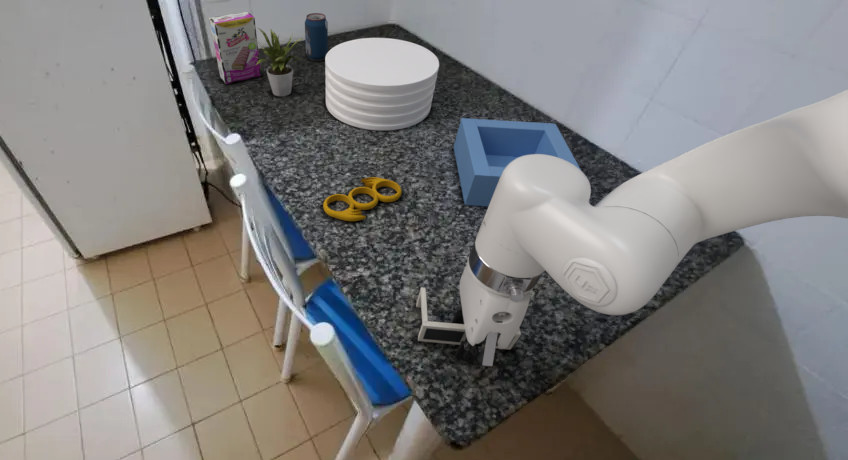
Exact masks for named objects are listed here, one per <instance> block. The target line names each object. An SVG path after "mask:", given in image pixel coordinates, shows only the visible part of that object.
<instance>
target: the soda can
mask: <svg viewBox="0 0 848 460" xmlns="http://www.w3.org/2000/svg"><path fill="white" fill-rule="evenodd" d="M326 17H327V16H326V15H325V14H324V13H319V12H313V13H308V14H307V15H306V18H305V21H304V38H305V54H306V57H307V58H308V59H309V60H311V61H315V62H319V61H323V60H324V61H325V57H326V54H327V53H328V52H329V35H328V34H329V27H328V26H329V25H328V24H329V22H328V20H327V18H326Z"/></svg>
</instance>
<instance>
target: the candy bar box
mask: <svg viewBox="0 0 848 460" xmlns="http://www.w3.org/2000/svg"><path fill="white" fill-rule="evenodd" d="M208 22H209V26H210V27H209V28H210V30H211V36H212V37H211V38H212V42H213V46H214V51H215V52H214V53H215V57H216V61H217V62H216V63H217V67H218V72H219V77H220V79H221V80H222V81H223V82H224V84H225V85H229V84H233V83H238V82H241V81H246V80H250V79H254V78H258V77H262V70H261V63H259V64H257V62H258V60H260V59H259V58H260V52H259V45H258V44H259V43H258V37H257V35H258V34H257V27H256V18H255V16H254V15H253V14H251V13H250V12H249V11H243V12H236V13H231V14H224V15H218V16H212V17H208ZM250 39H254V40H250ZM255 40H257V41H255ZM256 42H257V43H256ZM251 56H256V57H251ZM257 57H259V58H257ZM256 64H257V65H256Z"/></svg>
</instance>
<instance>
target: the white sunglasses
mask: <svg viewBox="0 0 848 460" xmlns="http://www.w3.org/2000/svg"><path fill="white" fill-rule="evenodd" d="M415 305H416V306H415V307H416V308H419V309H420V311H421V312H420V313H421V326H420V329H419V332H418V335H417V342H424V343H425V342H426V343H434V344H436V343H437V344H445V345H455V346H459V345H460V343H461V341H465V339H466V331H465V325H464V324H454V323H452V322H442V321H432V320H431V321H430V320H429V317H428V315H429V314H428V305H427V290H426V287H422V286H421V287H420V289H419V292H418V296H417V300H416V303H415ZM521 336H522V333H521V328H520V327H519V329H518V331H517V333H516V335H515V336H514V338H513V340H512V341H511V343H510V344H509V346H508V347H507V348H506V349H505V350H511V349H512V348H513V347H514V346H515V344H516V342H517V341H518V340H519V338H520V337H521ZM495 349H499V348H498V343H497V342H496V348H495ZM499 350H500V349H499Z"/></svg>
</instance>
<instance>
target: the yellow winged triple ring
mask: <svg viewBox="0 0 848 460" xmlns="http://www.w3.org/2000/svg"><path fill="white" fill-rule="evenodd" d="M360 183H363V185H364V186H356V187H355V188H352V190H350V191H349V192H348V195H346V194H343V193H334V194H331V195H329V196H328V197H326V198H325V199H324V201H323V204H322V206H323V207H322V209H323V211H324V213H326V215H328V216H329V217H331V218H334V219H338V220H341V221H344V222H359V221H362V220H365V219H366V218H367V216H366V215H363V211H368V210H372V209H373V208H375V207H376V206H377V205H378V202H382V203H393V202H396V201H397V200H399V199H400V198H401V197H402V187H401V185H400V184H398V183H397V182H396V181H394V180H391V179H387V178H382V177H377V176H369V177H364V178H361V179H360ZM382 187H383V188H384V187H388V188H392V189H393V190H395V191H396V193H394V194H391V195H385V194H381V193H380V192H379V191H377V190H378V189H380V188H382ZM359 194H366V195H369V196H370V197H372V199H373V200H372V201H370V202H367V203H363V202H359V201H356V200H355V199H354V198H353V197H355V196H356V195H359ZM338 201H339V202H344V203H346V204H347V205H349V207H348V208H346V209H344V210H334V209H331V207H329V204H331V203H333V202H338Z"/></svg>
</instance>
